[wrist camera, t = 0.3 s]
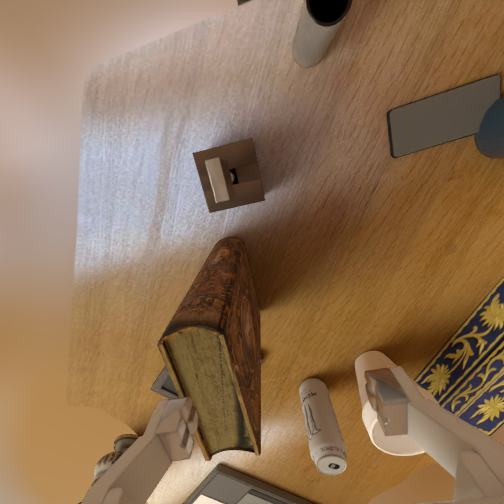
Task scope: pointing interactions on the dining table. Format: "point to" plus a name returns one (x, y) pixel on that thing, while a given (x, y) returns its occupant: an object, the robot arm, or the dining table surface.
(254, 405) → the book
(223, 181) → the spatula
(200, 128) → the dining table surface
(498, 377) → the decorative box
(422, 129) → the smartphone
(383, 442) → the cup
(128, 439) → the apothecary jar
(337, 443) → the energy drink can
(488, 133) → the grey coffee mug
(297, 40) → the grey hollow cylinder
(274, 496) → the laptop
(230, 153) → the utensil block
